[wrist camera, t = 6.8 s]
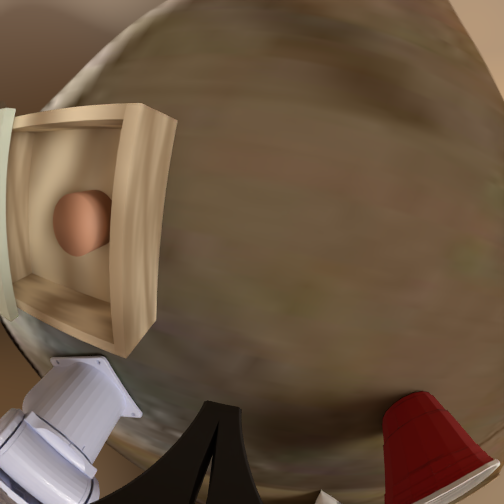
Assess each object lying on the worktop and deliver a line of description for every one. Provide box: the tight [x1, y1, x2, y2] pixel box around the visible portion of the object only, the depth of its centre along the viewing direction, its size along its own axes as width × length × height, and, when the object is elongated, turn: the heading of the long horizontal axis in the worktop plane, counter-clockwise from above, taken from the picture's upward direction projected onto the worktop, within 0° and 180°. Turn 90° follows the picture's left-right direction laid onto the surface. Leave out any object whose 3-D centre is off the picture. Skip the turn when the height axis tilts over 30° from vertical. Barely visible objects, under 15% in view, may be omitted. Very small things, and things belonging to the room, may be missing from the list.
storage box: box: [6, 103, 177, 358], centre depth 15 cm, size 14×14×5 cm
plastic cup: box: [382, 391, 500, 504], centre depth 14 cm, size 11×11×12 cm
